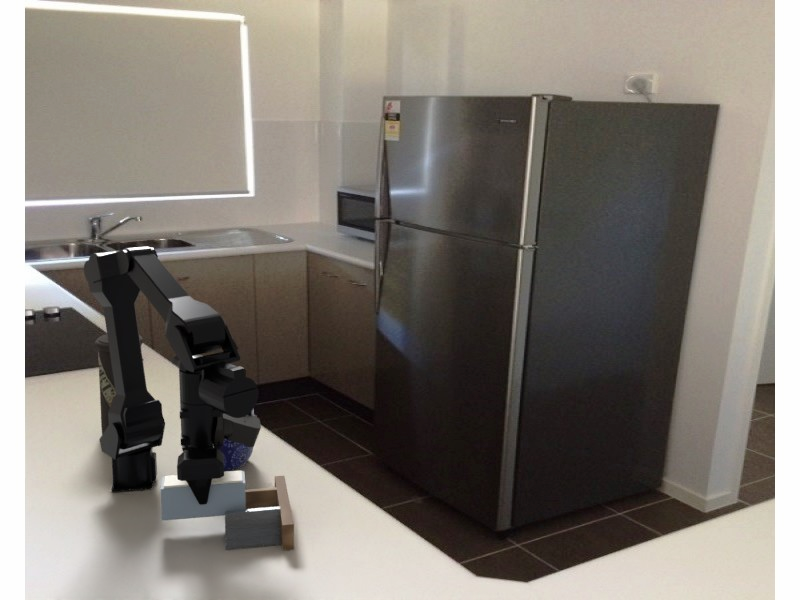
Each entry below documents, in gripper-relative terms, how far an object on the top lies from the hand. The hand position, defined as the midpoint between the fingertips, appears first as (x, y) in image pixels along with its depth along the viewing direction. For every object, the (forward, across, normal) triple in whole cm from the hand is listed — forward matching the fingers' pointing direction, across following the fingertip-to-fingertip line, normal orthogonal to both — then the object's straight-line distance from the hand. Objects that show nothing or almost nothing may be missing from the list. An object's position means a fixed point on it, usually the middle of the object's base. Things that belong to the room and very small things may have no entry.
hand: (203, 497), depth 114 cm
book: (+2, 0, 0) cm, 2 cm away
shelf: (+5, 0, -7) cm, 9 cm away
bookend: (+5, -5, -7) cm, 10 cm away
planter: (+6, +23, -3) cm, 24 cm away
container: (+6, +41, +16) cm, 44 cm away
